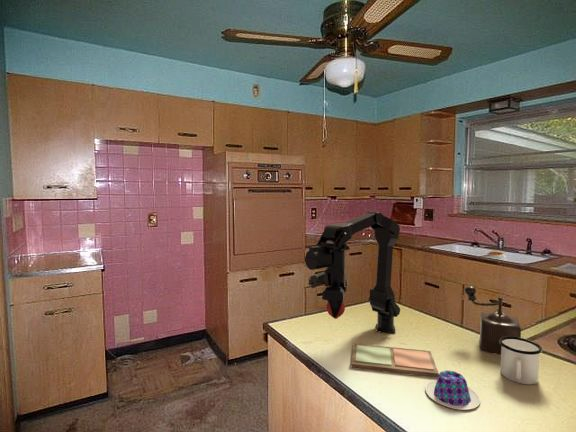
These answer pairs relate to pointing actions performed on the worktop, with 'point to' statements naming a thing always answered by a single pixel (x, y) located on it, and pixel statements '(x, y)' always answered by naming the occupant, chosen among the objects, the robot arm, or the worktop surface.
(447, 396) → the pudding
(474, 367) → the worktop surface
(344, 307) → the onion
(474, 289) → the brown coffee grinder
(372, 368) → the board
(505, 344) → the mug
